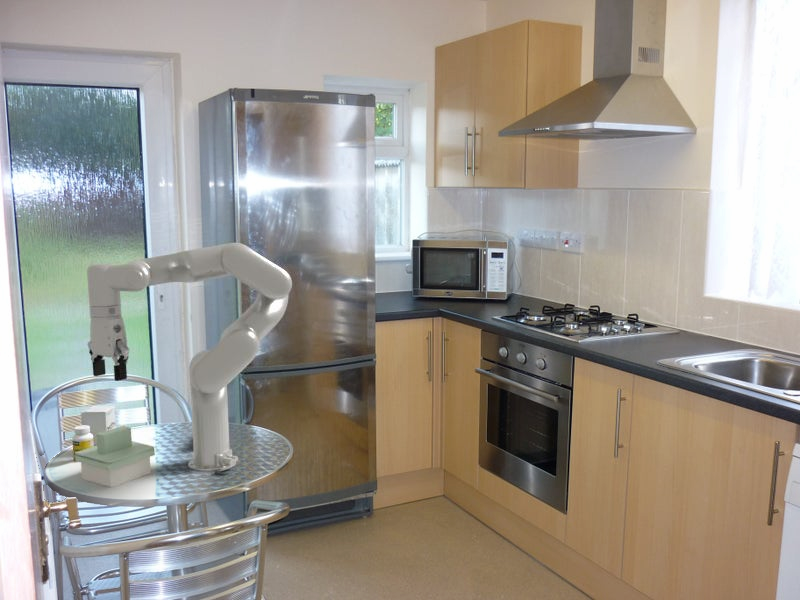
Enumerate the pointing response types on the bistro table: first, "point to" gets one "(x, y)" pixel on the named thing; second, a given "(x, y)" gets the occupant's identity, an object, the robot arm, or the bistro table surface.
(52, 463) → the bistro table surface
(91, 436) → the supplement bottle
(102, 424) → the supplement box
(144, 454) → the lid
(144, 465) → the storage box
